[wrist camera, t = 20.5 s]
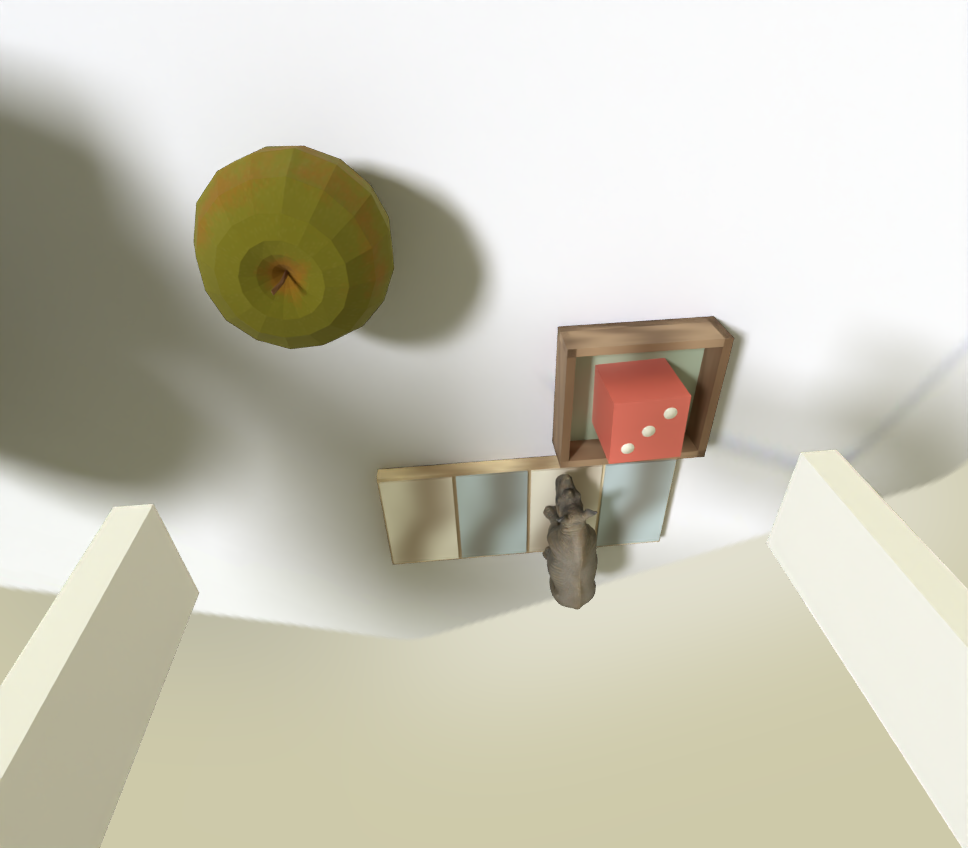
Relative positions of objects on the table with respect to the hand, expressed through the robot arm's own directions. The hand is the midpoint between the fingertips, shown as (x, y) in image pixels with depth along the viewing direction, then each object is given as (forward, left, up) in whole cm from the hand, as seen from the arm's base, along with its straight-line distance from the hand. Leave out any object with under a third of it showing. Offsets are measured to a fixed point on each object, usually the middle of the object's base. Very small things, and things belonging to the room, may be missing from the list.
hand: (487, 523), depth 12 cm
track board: (+5, -26, -27) cm, 37 cm away
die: (+12, -14, -26) cm, 32 cm away
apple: (-8, -1, -27) cm, 28 cm away
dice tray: (+13, -14, -27) cm, 33 cm away
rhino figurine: (+8, -26, -26) cm, 37 cm away
